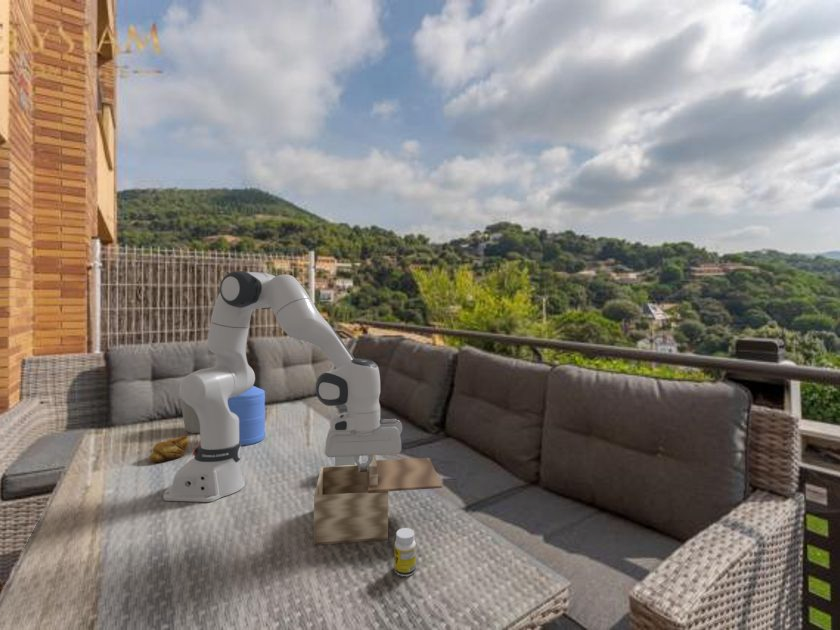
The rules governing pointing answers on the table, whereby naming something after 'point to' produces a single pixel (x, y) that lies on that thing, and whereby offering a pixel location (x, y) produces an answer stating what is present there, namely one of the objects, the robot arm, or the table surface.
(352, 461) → the supplement box
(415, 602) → the table surface
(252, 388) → the water jug
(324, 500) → the box
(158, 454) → the bread roll
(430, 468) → the lid
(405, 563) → the supplement bottle
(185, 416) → the canister
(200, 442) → the robot arm
